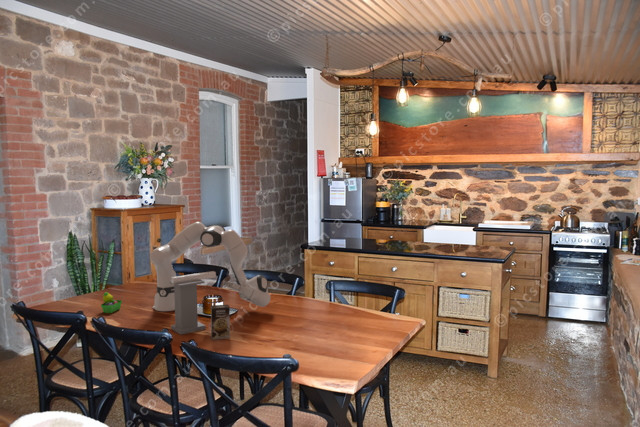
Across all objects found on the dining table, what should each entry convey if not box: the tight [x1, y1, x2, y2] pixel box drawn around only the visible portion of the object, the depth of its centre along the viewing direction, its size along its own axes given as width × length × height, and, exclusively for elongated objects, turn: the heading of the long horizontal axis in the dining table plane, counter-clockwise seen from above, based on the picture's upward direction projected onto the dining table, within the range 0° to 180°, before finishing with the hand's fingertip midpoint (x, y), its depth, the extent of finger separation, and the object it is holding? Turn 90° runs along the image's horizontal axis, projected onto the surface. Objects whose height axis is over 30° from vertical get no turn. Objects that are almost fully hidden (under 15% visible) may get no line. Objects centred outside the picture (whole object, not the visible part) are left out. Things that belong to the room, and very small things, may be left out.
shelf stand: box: [170, 279, 207, 335], centre depth 265 cm, size 14×12×26 cm
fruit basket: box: [100, 291, 123, 314], centre depth 300 cm, size 11×9×11 cm
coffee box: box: [210, 304, 231, 341], centre depth 252 cm, size 9×6×16 cm
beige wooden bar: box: [171, 270, 217, 284], centre depth 266 cm, size 24×3×3 cm, turn 129°
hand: (228, 283), depth 280 cm, fingers open, 8 cm apart
